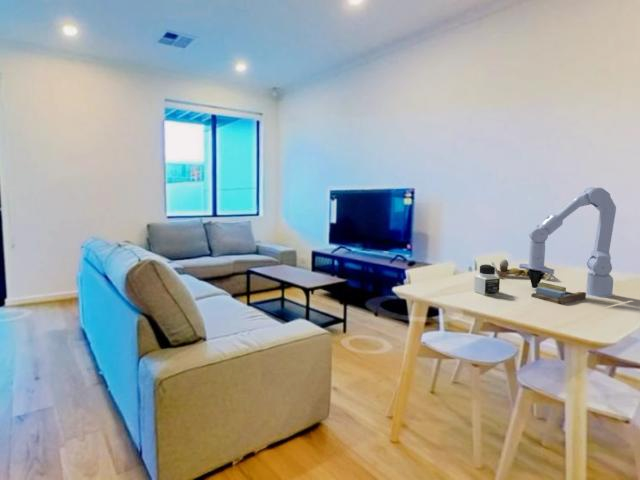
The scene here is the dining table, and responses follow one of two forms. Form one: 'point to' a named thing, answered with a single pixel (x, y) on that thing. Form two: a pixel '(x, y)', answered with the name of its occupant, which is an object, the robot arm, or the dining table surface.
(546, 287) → the stick ochre
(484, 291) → the medicine bottle
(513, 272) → the toy food set
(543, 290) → the stick blue
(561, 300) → the comb board
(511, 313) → the dining table surface
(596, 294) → the robot arm
